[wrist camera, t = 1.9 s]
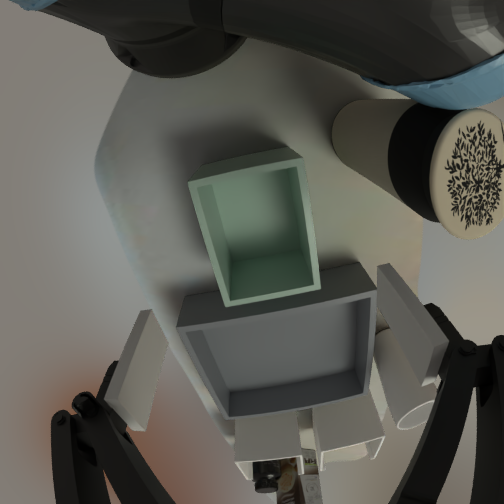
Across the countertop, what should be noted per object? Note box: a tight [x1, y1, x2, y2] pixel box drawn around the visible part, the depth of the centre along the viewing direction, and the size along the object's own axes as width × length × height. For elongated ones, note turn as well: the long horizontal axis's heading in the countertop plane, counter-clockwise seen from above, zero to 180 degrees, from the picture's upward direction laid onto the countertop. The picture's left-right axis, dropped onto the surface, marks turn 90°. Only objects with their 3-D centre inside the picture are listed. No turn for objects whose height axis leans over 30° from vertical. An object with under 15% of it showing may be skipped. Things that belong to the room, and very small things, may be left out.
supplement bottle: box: [252, 459, 282, 493], centre depth 50 cm, size 7×7×12 cm
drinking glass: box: [373, 329, 437, 430], centre depth 34 cm, size 7×7×15 cm
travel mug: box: [332, 99, 504, 240], centre depth 19 cm, size 8×8×18 cm
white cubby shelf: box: [235, 389, 386, 480], centre depth 45 cm, size 25×11×11 cm, turn 100°
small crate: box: [187, 147, 321, 307], centre depth 28 cm, size 12×9×8 cm
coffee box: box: [276, 449, 323, 504], centre depth 51 cm, size 9×6×16 cm
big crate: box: [176, 262, 377, 420], centre depth 37 cm, size 20×22×6 cm
